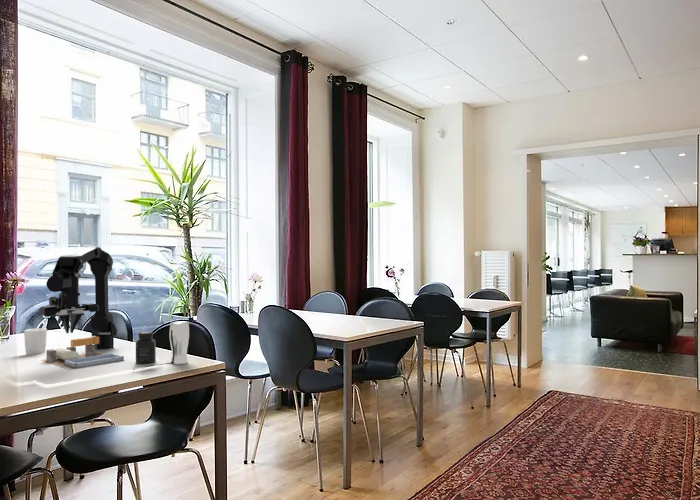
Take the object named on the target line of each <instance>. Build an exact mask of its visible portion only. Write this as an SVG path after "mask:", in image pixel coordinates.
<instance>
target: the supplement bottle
mask: <svg viewBox="0 0 700 500" xmlns="http://www.w3.org/2000/svg"><path fill="white" fill-rule="evenodd" d="M137 337H138V339H137V340H136V341H135V364H136V365H146V366H144V367H145V368H146V367H148V365H149V367H153V366H154V363H156V362H157V361H156V359H157V357H156V356H157V355H156V354H157V350H156V344H157V343H156V339H154V338H153V337H154V335H153V331H139V332H138V335H137ZM151 364H152V365H151Z"/></svg>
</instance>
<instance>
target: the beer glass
mask: <svg viewBox="0 0 700 500" xmlns="http://www.w3.org/2000/svg"><path fill="white" fill-rule="evenodd" d="M189 323H190V322H189V321H184V320H183V321H180V320H179V321H178V320H177V321H171V322H170V323H169V342H170V349H171V359H170V364H171V365H176V366H177V365H185V364H188V363H189V360H188V347H189V340H190V324H189Z"/></svg>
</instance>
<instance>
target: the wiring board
mask: <svg viewBox="0 0 700 500" xmlns="http://www.w3.org/2000/svg"><path fill="white" fill-rule="evenodd" d="M84 346H85V347H84V349H85V350H84V353H82V354H79V358H84V357H90V356H97V355H104V354H103V353H99V352H95V351H96V349H95V345H94V344H91V345H84ZM65 349H67V350H71V351H74V352H77V346H76V347H72V346H67V347H66V348H65ZM40 361H42V362H44V363H47V364H50V365H54V366H56V367H59V368H62V369H66V370H68V371H70V370H75V369H78V368H73V367H70V366H67V365H64V360H61V359H58V358H56V349H53V348H51V349H46V359H42V360H40ZM125 361H126V360H125V359H124V360H123V361H122V362H125ZM119 362H120V361H117V362H116V363H119ZM111 363H114V362H110V363H109V364H111ZM106 364H107V365H108V363H104V364H103V365H106ZM99 365H102V364H98V365H97V366H99ZM93 366H96V365H92V366H91V367H93ZM87 367H90V366H86V367H85V368H87ZM82 368H84V367H80V368H79V369H82Z"/></svg>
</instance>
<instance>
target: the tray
mask: <svg viewBox="0 0 700 500" xmlns="http://www.w3.org/2000/svg"><path fill="white" fill-rule="evenodd" d="M123 360H125V359H124V355H120V354H117V353H106V354H103V355H97V356H90V357H84V358H77V359H70V360H64V365H67V366H70V367H73V368H77V369H81V368H80V367H83V368H87V367H86V366H89V367H93V366H92V365H95V366H99V365H98V364H101V365H105V364H104V363H107V364H111V363H110V362H113V363H118V362H117V361H119V362H124V361H123Z"/></svg>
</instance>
